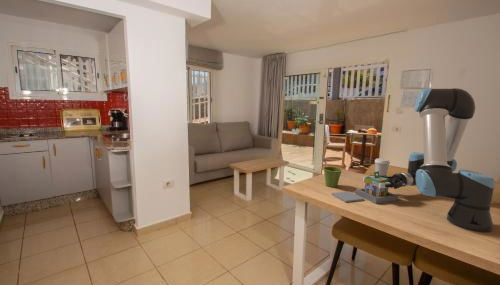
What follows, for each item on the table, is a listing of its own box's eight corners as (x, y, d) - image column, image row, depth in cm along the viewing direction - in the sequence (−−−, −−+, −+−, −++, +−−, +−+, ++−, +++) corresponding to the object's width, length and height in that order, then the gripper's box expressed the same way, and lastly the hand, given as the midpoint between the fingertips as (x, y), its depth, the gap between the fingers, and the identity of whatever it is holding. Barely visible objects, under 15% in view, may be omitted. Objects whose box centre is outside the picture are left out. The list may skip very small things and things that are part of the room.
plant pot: (318, 185, 155) (319, 168, 154) (328, 181, 163) (329, 165, 161) (335, 190, 147) (336, 172, 145) (344, 186, 154) (346, 169, 153)
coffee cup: (390, 182, 164) (392, 161, 162) (375, 181, 165) (377, 160, 163) (384, 178, 173) (387, 158, 171) (370, 177, 175) (372, 157, 172)
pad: (364, 200, 131) (364, 198, 131) (345, 202, 127) (345, 200, 127) (348, 192, 142) (349, 191, 142) (331, 194, 139) (331, 192, 138)
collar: (397, 201, 131) (398, 195, 130) (375, 203, 126) (376, 198, 126) (375, 191, 145) (376, 187, 145) (355, 193, 141) (355, 189, 140)
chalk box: (379, 201, 129) (381, 175, 127) (363, 196, 137) (365, 171, 135) (388, 198, 134) (391, 173, 132) (372, 193, 142) (374, 169, 140)
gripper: (420, 192, 129) (388, 196, 123) (384, 180, 151) (355, 182, 145) (421, 179, 128) (389, 182, 122) (385, 168, 150) (356, 170, 144)
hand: (371, 182), depth 133 cm, fingers closed on chalk box, 11 cm apart
